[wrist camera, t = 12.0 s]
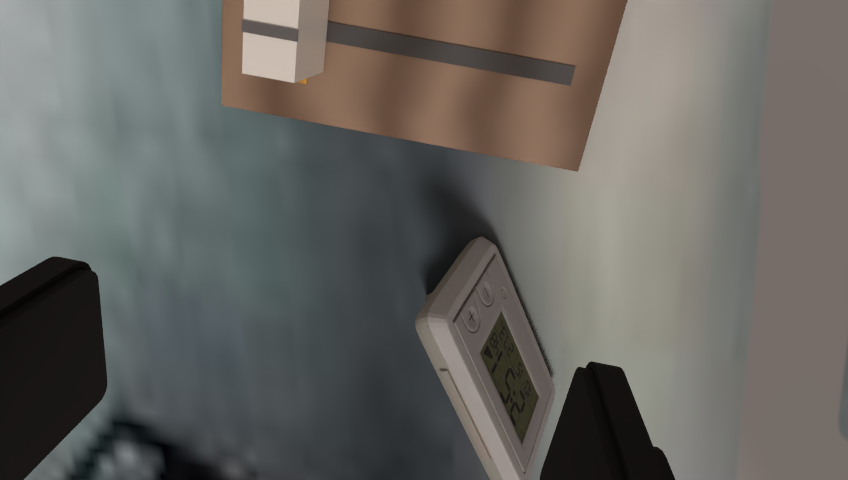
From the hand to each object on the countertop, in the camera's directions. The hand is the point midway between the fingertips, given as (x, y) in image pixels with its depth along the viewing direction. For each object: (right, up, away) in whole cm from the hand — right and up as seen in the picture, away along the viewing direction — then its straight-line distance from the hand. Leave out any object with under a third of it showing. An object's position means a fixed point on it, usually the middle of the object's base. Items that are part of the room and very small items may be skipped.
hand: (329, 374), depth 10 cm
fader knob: (-6, +16, +24) cm, 30 cm away
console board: (+1, +16, +26) cm, 31 cm away
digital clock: (+8, -4, +34) cm, 35 cm away
